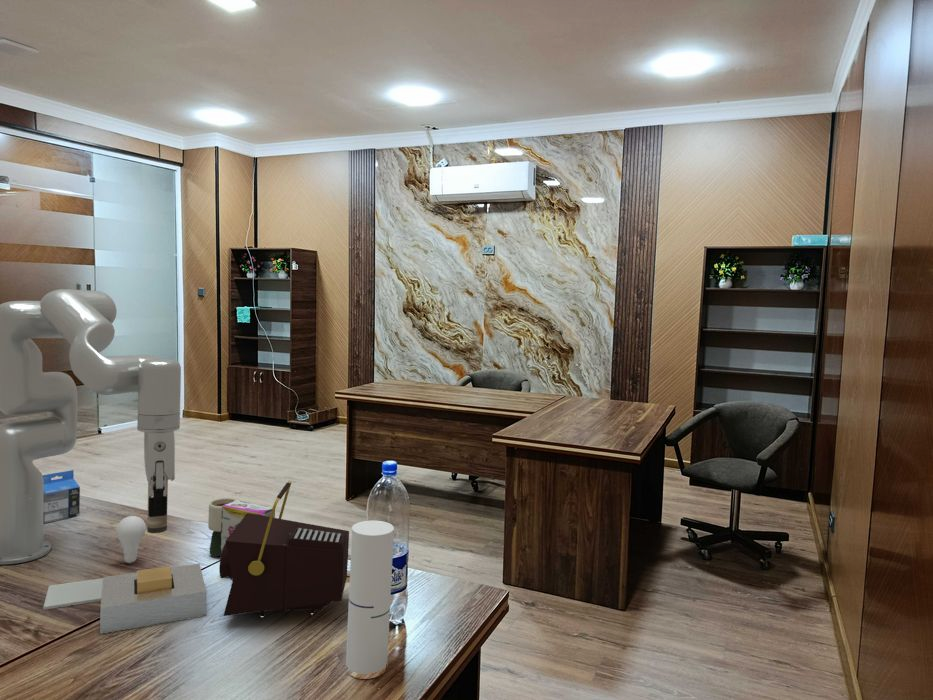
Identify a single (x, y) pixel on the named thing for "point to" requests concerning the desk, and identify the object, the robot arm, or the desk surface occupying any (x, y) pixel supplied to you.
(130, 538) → the lightbulb
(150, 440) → the robot arm
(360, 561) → the cylindrical container
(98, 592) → the mat
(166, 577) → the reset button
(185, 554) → the desk surface
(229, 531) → the candy bar box
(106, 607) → the breaker box
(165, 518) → the beige cylinder
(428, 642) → the desk surface
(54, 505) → the ink cartridge box
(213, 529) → the character mug
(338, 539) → the dark brown boxy piece
